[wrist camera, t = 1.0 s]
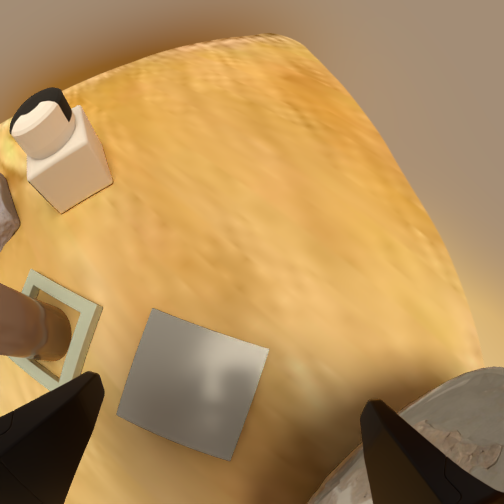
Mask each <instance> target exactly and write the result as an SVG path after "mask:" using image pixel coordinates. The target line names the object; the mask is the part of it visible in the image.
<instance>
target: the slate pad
mask: <svg viewBox="0 0 504 504" xmlns="http://www.w3.org/2000/svg"><path fill="white" fill-rule="evenodd" d="M268 352H269V349H268V348H264V347H261V346H258V345H255V344H251V343H248V342H245V341H242V340H239V339H236V338H233V337H230V336H227V335H224V334H221V333H218V332H215V331H212V330H209V329H207V328H204V327H201V326H198V325H195V324H193V323H190V322H187V321H185V320H182V319H179V318H177V317H174V316H172V315H169V314H166V313H164V312H161V311H159V310H156V309H154V308H152V311H151V313H150V316H149V319H148V321H147V324H146V327H145V329H144V332H143V335H142V338H141V340H140V343H139V346H138V349H137V352H136V355H135V357H134V360H133V363H132V366H131V369H130V372H129V375H128V378H127V381H126V384H125V388H124V391H123V394H122V397H121V400H120V404H119V407H118V410H117V414H116V415H118V416H119V417H121V418H123V419H125V420H127V421H129V422H131V423H133V424H135V425H137V426H139V427H141V428H144V429H146V430H148V431H150V432H152V433H155V434H157V435H159V436H161V437H164V438H166V439H168V440H171V441H173V442H176V443H178V444H181V445H183V446H186V447H189V448H191V449H194V450H197V451H200V452H203V453H206V454H208V455H211V456H215V457H218V458H221V459H224V460H227V461H230V460H231V458H232V455H233V452H234V450H235V447H236V444H237V442H238V439H239V436H240V433H241V431H242V428H243V425H244V422H245V420H246V417H247V414H248V411H249V408H250V406H251V403H252V400H253V397H254V394H255V391H256V388H257V385H258V382H259V379H260V376H261V373H262V370H263V367H264V364H265V361H266V358H267V355H268Z"/></svg>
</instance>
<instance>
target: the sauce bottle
mask: <svg viewBox="0 0 504 504" xmlns="http://www.w3.org/2000/svg"><path fill="white" fill-rule="evenodd" d="M70 342H71V327H70V323H69V320H68V318H67V316H66V315H65V313H64V312H63V311H62V310H61V309H59V308H57V307H55V306H52V305H50V304H47V303H45V302H42V301H40V300H37V299H35V298H32V297H30V296H28V295H25V294H23V293H21V292H18V291H16V290H14V289H12V288H9V287H7V286H5V285H3V284H1V283H0V355H5V356H12V357H19V358H27V359H35V360H44V361H57V360H59V359H61V358H62V357H63V356H64V355H65V354H66V353H67V351H68V349H69V346H70Z"/></svg>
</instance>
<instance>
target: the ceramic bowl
mask: <svg viewBox="0 0 504 504" xmlns="http://www.w3.org/2000/svg"><path fill="white" fill-rule="evenodd" d="M397 414H398V415H399V416H400V417H402V418H403V419H404V420H405V421H406V422H407V423H409V424H410V425H411V426H412V427H413V428H414V429H415V430H417V431H418V432H419V433H420V434H421V435H422V436H424V437H425V438H426V439H427V440H428V441H429V442H431V443H432V444H433V445H434V446H435V447H437V448H438V449H439V450H440V451H441V452H443V453H444V454H445V455H446V456H447V457H449V458H450V459H451V460H452V461H453V462H455V463H456V464H457V465H458V466H460V467H461V468H462V469H464V470H465V471H467V472H468V473H470V474H471V475H473V476H474V477H476V478H477V479H479V480H480V481H482V482H484V483H485V484H487V485H489V486H490V487H492V488H494V489H495V490H498V491H500V492H504V368H503V367H488V368H481V369H478V370H474V371H471V372H467V373H464V374H462V375H460V376H458V377H455V378H453V379H451V380H449V381H447V382H445V383H443V384H441V385H439V386H438V387H436V388H434V389H432V390H430V391H429V392H427V393H426V394H424V395H423V396H421V397H420V398H418V399H417V400H415V401H413V402H412V403H410V404H409V405H407V406H406V407H404V408H403V409H402V410H400V411H399V412H398V413H397ZM307 504H373V501H372V496H371V490H370V485H369V480H368V475H367V470H366V466H365V461H364V454H363V443H361V444H360V445H358V446H357V447H356V448H355V449H354V450H353V451H352V452H351V453H350V454H349V455H348V456H347V457H346V458H345V459H344V460H343V461H342V462H341V463H340V464H339V465H338V466H337V467H336V468H335V469H334V470H333V471H332V472H331V473H330V474H329V475H328V476H327V477H326V478H325V480H324V481H323V483H322V484H321V486H320V487H319V488H318V490H317V491H316V492H315V493H314V494H313V495H312V497H311V498H310V500H309V501H308V503H307Z"/></svg>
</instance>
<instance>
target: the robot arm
mask: <svg viewBox="0 0 504 504" xmlns="http://www.w3.org/2000/svg"><path fill="white" fill-rule="evenodd" d="M104 394H105V392H104V387H103V384H102V381H101V378H100V375H99V374H97V373H94V372H91V371H87V372H85V373H83V374H81V375H80V376H78V377H76V378H74V379H72V380H70V381H69V382H67V383H65V384H63V385H61V386H59V387H57V388H56V389H54V390H52V391H50V392H48V393H46V394H44V395H42V396H40V397H39V398H37V399H35V400H33V401H31V402H29V403H27V404H25V405H23V406H21V407H19V408H18V409H16V410H14V411H12V412H10V413H8V414H6V415H4V416H2V417H0V504H64V502H65V499H66V496H67V494H68V491H69V488H70V486H71V483H72V480H73V478H74V475H75V473H76V470H77V468H78V465H79V463H80V460H81V458H82V456H83V453H84V451H85V448H86V446H87V444H88V441H89V439H90V437H91V435H92V432H93V430H94V427H95V423H96V420H97V417H98V414H99V411H100V407H101V404H102V401H103V398H104ZM360 424H361V433H362V443H363V454H364V461H365V466H366V470H367V475H368V480H369V485H370V490H371V496H372V501H373V504H504V492H500V491H498V490H495V489H494V488H492V487H490V486H489V485H487V484H485V483H484V482H482V481H480V480H479V479H477V478H476V477H474V476H473V475H471V474H470V473H468V472H467V471H465V470H464V469H462V468H461V467H460V466H458V465H457V464H456V463H455V462H453V461H452V460H451V459H450V458H449V457H447V456H446V455H445V454H444V453H443V452H441V451H440V450H439V449H438V448H437V447H435V446H434V445H433V444H432V443H431V442H429V441H428V440H427V439H426V438H425V437H424V436H422V435H421V434H420V433H419V432H418V431H417V430H415V429H414V428H413V427H412V426H411V425H410V424H409V423H407V422H406V421H405V420H404V419H403V418H402V417H400V416H399V415H398V414H397V413H396V412H395V411H394V410H392V409H391V408H390V407H389V406H388V405H387V404H386V403H384V402H383V401H382V400H381V399H371V400H369V401H368V402H367V404H366V406H365V408H364V410H363V412H362V414H361V417H360Z"/></svg>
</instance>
